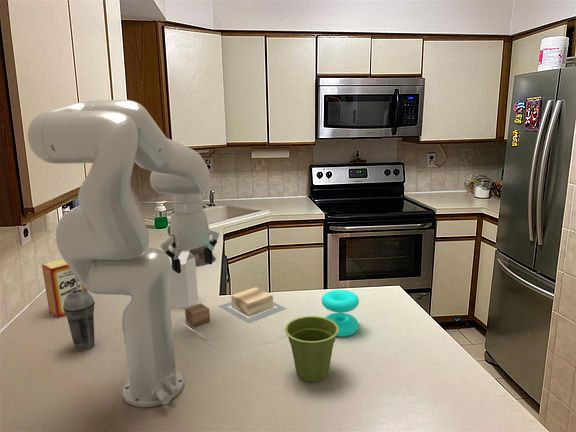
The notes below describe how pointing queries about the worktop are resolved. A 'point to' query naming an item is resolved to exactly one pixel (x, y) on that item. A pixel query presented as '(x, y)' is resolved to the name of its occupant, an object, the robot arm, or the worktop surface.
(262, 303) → the maple slab
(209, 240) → the robot arm
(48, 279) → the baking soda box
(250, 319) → the board
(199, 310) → the walnut block
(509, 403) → the worktop surface
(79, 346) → the beverage cup
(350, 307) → the donuts
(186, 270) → the milk carton
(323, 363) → the plant pot
